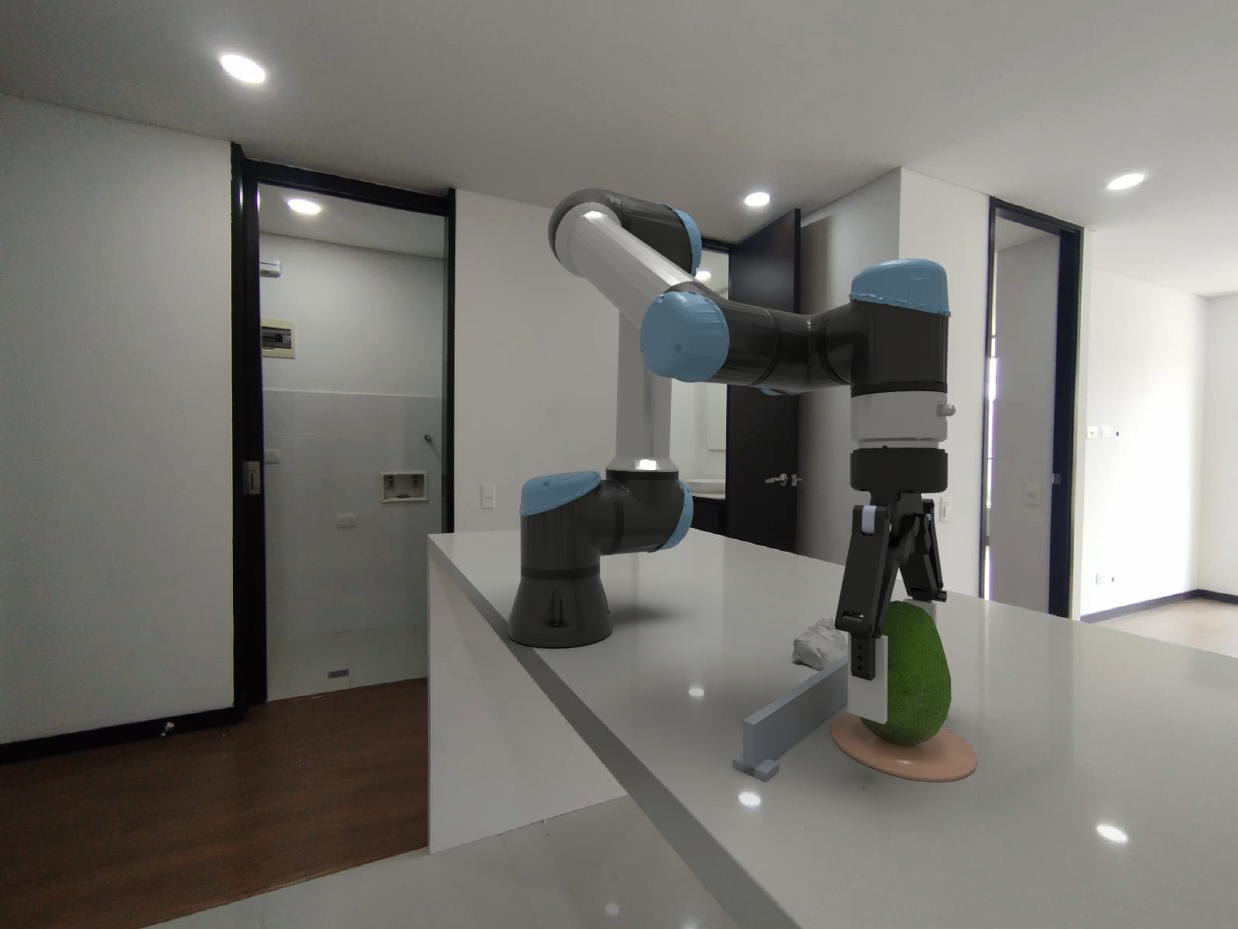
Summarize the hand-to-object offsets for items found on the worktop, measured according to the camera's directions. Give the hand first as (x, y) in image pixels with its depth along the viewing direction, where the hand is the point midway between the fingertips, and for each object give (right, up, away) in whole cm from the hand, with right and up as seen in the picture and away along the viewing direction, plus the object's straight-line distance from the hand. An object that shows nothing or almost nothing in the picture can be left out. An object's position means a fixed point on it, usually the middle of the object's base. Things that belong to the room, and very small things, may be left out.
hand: (895, 690), depth 46 cm
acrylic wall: (-6, -4, +3) cm, 8 cm away
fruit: (0, -4, 0) cm, 4 cm away
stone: (+2, -5, +21) cm, 21 cm away
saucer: (0, -4, 0) cm, 5 cm away
